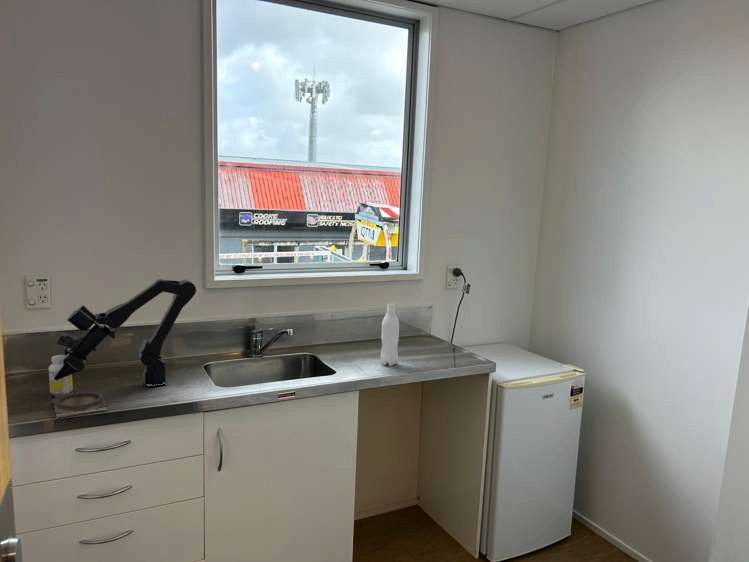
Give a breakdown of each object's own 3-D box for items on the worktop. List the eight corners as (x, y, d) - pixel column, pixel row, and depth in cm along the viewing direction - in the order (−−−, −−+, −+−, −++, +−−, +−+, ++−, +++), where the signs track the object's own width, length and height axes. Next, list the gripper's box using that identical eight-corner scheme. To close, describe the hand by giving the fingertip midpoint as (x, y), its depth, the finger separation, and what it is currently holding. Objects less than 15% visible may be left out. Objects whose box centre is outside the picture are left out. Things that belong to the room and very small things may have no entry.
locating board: (101, 396, 192) (101, 388, 191) (107, 410, 180) (107, 402, 179) (52, 403, 184) (52, 395, 184) (56, 418, 172) (55, 409, 172)
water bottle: (391, 367, 233) (393, 306, 230) (376, 364, 238) (378, 304, 234) (401, 364, 239) (403, 304, 235) (387, 360, 243) (389, 301, 240)
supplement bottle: (67, 389, 197) (65, 352, 195) (76, 394, 193) (74, 356, 191) (46, 394, 192) (44, 356, 190) (55, 399, 188) (53, 360, 186)
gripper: (72, 318, 199) (37, 352, 196) (71, 330, 182) (32, 368, 179) (98, 338, 204) (64, 372, 200) (100, 352, 187) (62, 389, 184)
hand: (55, 375), depth 191 cm, fingers open, 9 cm apart
